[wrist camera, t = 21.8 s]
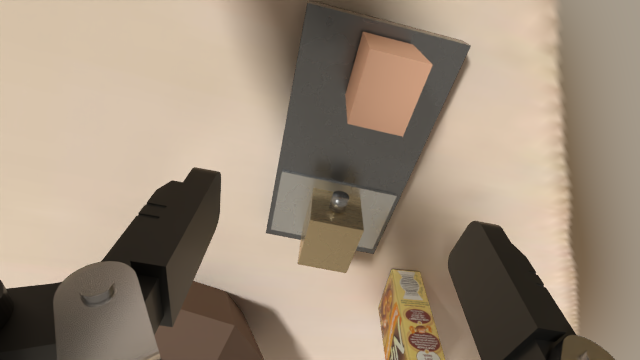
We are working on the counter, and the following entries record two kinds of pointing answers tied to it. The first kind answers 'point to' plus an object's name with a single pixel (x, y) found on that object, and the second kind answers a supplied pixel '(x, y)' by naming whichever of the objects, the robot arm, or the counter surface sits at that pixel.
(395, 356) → the candy box
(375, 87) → the block
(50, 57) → the counter surface
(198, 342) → the brown cauldron
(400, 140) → the press bed
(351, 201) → the block
